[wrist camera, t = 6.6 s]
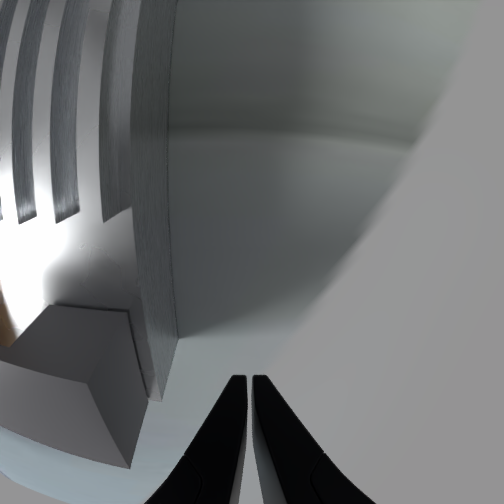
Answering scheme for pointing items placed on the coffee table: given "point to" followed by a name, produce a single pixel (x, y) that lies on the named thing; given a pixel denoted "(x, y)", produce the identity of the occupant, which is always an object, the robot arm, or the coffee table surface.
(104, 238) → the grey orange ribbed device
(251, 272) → the coffee table surface
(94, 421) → the block
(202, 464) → the robot arm
